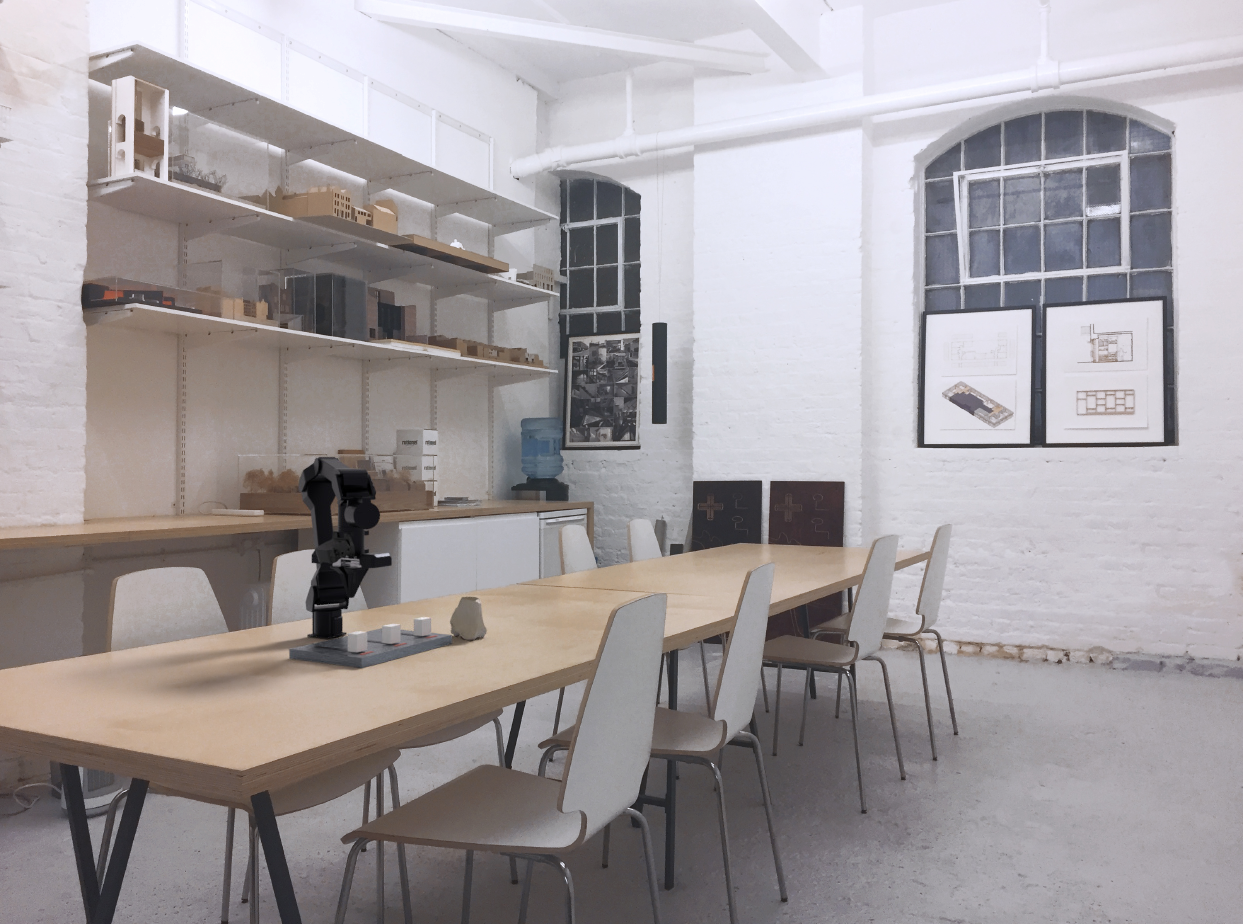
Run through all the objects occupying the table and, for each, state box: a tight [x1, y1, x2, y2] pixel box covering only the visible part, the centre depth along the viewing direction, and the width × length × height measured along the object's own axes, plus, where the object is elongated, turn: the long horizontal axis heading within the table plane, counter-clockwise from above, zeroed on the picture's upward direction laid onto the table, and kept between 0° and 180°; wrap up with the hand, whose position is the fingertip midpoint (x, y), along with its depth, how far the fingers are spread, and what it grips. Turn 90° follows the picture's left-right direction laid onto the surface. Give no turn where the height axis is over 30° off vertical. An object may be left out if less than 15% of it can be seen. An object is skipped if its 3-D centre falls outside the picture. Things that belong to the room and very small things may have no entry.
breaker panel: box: [288, 627, 453, 669], centre depth 199 cm, size 20×28×2 cm
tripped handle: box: [347, 630, 367, 652], centre depth 188 cm, size 2×3×4 cm
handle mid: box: [381, 623, 402, 644], centre depth 197 cm, size 2×3×4 cm
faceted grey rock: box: [449, 596, 488, 641], centre depth 215 cm, size 9×8×10 cm
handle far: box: [413, 616, 432, 636], centre depth 206 cm, size 2×3×4 cm
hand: (351, 597), depth 202 cm, fingers closed
